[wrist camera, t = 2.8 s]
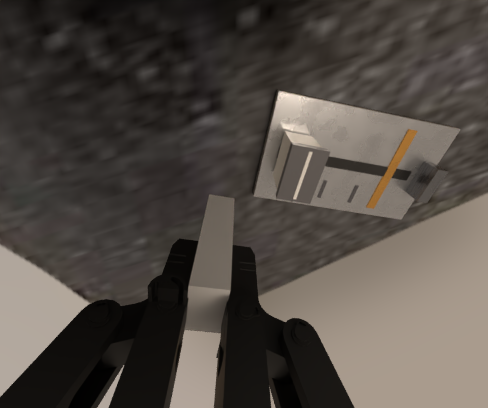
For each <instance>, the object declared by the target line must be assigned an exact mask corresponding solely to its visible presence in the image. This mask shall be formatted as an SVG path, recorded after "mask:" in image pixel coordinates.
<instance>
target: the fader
mask: <svg viewBox="0 0 488 408" xmlns="http://www.w3.org/2000/svg"><path fill="white" fill-rule="evenodd" d="M329 155H330V151H329V150H328V149H327V148H322V147H321V146H320V144H319V143H318V142H317V141H316V140H315V139H314V138H313V137H312V136H308V135H302V134H297V133H292V132H287V131H285V132H284V136H283V139H282V143H281V147H280V150H279V154H278V158H277V161H276V165H275V169H274V172H273V177H274V180H275V184H276V188H277V191H276V199H282V200H288V201H294V202H300V203H307V204H310V203H311V200H312V198H313V195H314V193H315V190H316V188H317V185H318V183H319V180H320V178H321V175H322V172H323V170H324V167H325V165H326V162H327V160H328V157H329Z"/></svg>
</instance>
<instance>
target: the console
mask: <svg viewBox="0 0 488 408" xmlns="http://www.w3.org/2000/svg"><path fill="white" fill-rule="evenodd" d="M285 131H287V132H292V133H297V134H302V135H308V136H312V137H313V138H314V139H315V140H316V141H317V142H318V143H319V144H320V146H321V147H322V148H327V149H328V150H329V151H330V155H329V157H328V160H327V162H326V165H325V167H324V170H323V172H322V175H321V178H320V180H319V183H318V185H317V188H316V190H315V193H314V195H313V198H312V200H311V203H310V204H307V203H300V202H294V201H288V200H282V199H276V191H277V188H276V184H275V180H274V177H273V172H274V169H275V165H276V161H277V158H278V154H279V150H280V147H281V143H282V139H283V136H284V132H285ZM459 131H460V129H459V128H455V127H452V126H449V125H444V124H440V123H435V122H430V121H425V120H421V119H416V118H411V117H406V116H401V115H397V114H392V113H387V112H382V111H378V110H373V109H368V108H363V107H359V106H354V105H349V104H344V103H339V102H335V101H330V100H325V99H320V98H316V97H311V96H306V95H301V94H297V93H292V92H287V91H282V90H278V89H277V91H276V96H275V100H274V104H273V108H272V113H271V117H270V121H269V125H268V129H267V134H266V138H265V142H264V146H263V151H262V155H261V159H260V163H259V167H258V172H257V176H256V180H255V184H254V189H253V195H254V196H255V197H262V198H268V199H274V200H280V201H287V202H293V203H299V204H306V205H312V206H318V207H325V208H331V209H337V210H344V211H350V212H356V213H363V214H369V215H375V216H382V217H388V218H394V219H402V218H403V216H404V215H405V213H406V212H407V210H408V209H409V207H410V206H411V204H412V202H413V201H414V199H415V200H416V201H417V202H423V203H427V202H428V201H429V199H430V198H431V196H432V195H433V193H434V192H435V191H436V189H437V188H438V186H439V185H440V183H441V182H442V180H443V179H444V178H445V176H446V175H447V173H448V171H447V170H445V169H443V168H441V167H439V166H438V165H437V164H438V163H439V161H440V160H441V158H442V157H443V155H444V154H445V152H446V151H447V149H448V148H449V146H450V145H451V143H452V142H453V140H454V138H455V137H456V135H457V134H458V132H459Z"/></svg>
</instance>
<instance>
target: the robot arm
mask: <svg viewBox="0 0 488 408" xmlns="http://www.w3.org/2000/svg"><path fill="white" fill-rule="evenodd" d="M233 222H234V198H229V197H222V196H216V195H209V198H208V202H207V207H206V211H205V216H204V220H203V224H202V229H201V233H200V238H199V241H194V240H186V239H179V240H177V241H176V242H175V243H174V244H173V245H172V248H171V251H170V254H169V256H168V259H167V262H166V265H165V268H164V270H163V273H162V275H160V276H157V277H156V278H155V279H153V280H152V281H151V282H150V284H149V285H148V299H146V300H144V301H142V302H139V303H136V304H131V305H125V306H120V305H119V303H117V302H115V301H114V300H107V299H105V300H99V301H96V302H94V303H91V304H89V305H88V306H87V307H85V308H84V309H83V310H82V311H81V312H80V313H79V314H78V315H77V316H76V317H75V318H74V319H73V320H72V321H71V322H70V323H69V324H68V326H66V328H65V329H64V330H63V331H62V332H61V333H60V334H59V335H58V336H57V337H56V338H55V339H54V340H53V341H52V342H51V344H50V345H49V346H48V347H47V348H46V349H45V350H44V351H43V352H42V353H41V354H40V355H39V356H38V357H37V359H36V360H35V361H34V362H33V363H32V364H31V365H30V366H29V367H28V368H27V369H26V370H25V371H24V372H23V373H22V375H21V376H20V377H19V378H18V379H17V380H16V381H15V382H14V383H13V384H12V385H11V386H10V387H9V388H8V389H7V391H6V392H5V393H4V394H3V395H2V396H1V397H0V408H97V407H98V405H99V404H100V402H101V401H102V399H103V397H104V396H105V394H106V393H107V391H108V389H109V388H110V386H111V384H112V383H113V381H114V380H115V378H116V376H117V375H118V373H119V372H120V370H121V368H122V367H123V365H124V368H123V371H122V373H121V376H120V379H119V381H118V384H117V387H116V389H115V392H114V395H113V397H112V400H111V403H110V405H109V408H169V407H170V402H171V397H172V392H173V388H174V382H175V378H176V372H177V367H178V363H179V358H180V352H181V347H182V340H183V334H184V330H194V331H205V332H214V333H221V340H220V344H219V348H218V353H217V358H218V364H217V377H216V389H215V402H214V408H271V401H270V389H271V393H272V397H273V400H274V404H275V407H276V408H354V406H353V404H352V402H351V400H350V398H349V396H348V394H347V392H346V390H345V388H344V386H343V384H342V382H341V380H340V378H339V377H338V374H337V372H336V370H335V368H334V366H333V364H332V362H331V360H330V358H329V356H328V354H327V352H326V350H325V348H324V346H323V344H322V342H321V340H320V338H319V336H318V334H317V332H316V331H315V329H314V328H313V327H312V326H311V325H310V324H309V323H308V322H306V321H304V320H302V319H299V318H292V319H290V320H288V321H287V322H283V321H281V320H279V319H277V318H274V317H272V316H270V315H269V314H267V313H266V312H265V311H264V310H263V308H261V305H260V303H259V300H258V290H257V276H256V265H255V264H256V263H255V255H254V253H253V251H252V249H251V248H250V247H243V246H236V245H233ZM269 386H270V389H269Z"/></svg>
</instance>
